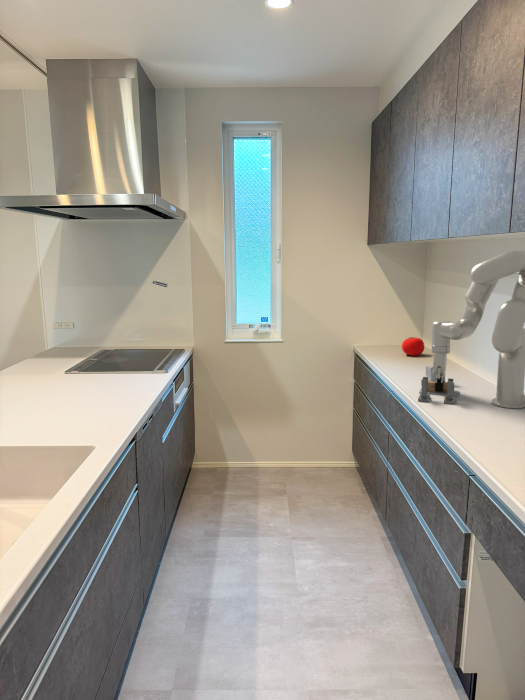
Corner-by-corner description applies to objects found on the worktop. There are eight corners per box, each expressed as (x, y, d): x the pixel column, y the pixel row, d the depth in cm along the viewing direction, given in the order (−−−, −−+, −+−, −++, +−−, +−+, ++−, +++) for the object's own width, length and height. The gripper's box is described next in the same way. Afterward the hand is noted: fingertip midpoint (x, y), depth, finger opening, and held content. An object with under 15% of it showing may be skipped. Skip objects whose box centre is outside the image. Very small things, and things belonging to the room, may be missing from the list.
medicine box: (430, 385, 223) (431, 367, 221) (425, 383, 227) (425, 365, 226) (445, 384, 225) (446, 366, 223) (439, 382, 229) (440, 364, 228)
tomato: (426, 356, 290) (427, 338, 288) (403, 357, 291) (404, 338, 289) (421, 353, 302) (421, 335, 300) (399, 353, 303) (399, 335, 301)
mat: (459, 391, 211) (459, 390, 211) (458, 396, 204) (458, 395, 203) (421, 388, 217) (421, 387, 217) (419, 393, 210) (419, 392, 210)
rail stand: (455, 399, 199) (456, 378, 198) (454, 404, 192) (455, 382, 191) (420, 396, 205) (420, 376, 204) (418, 401, 198) (418, 380, 196)
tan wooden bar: (454, 391, 209) (454, 382, 208) (453, 393, 206) (454, 384, 206) (425, 389, 214) (425, 380, 213) (424, 391, 211) (424, 382, 211)
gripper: (433, 345, 216) (432, 385, 219) (429, 352, 201) (428, 394, 204) (451, 346, 213) (449, 386, 216) (448, 353, 198) (447, 395, 201)
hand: (439, 389), depth 210 cm, fingers open, 4 cm apart
